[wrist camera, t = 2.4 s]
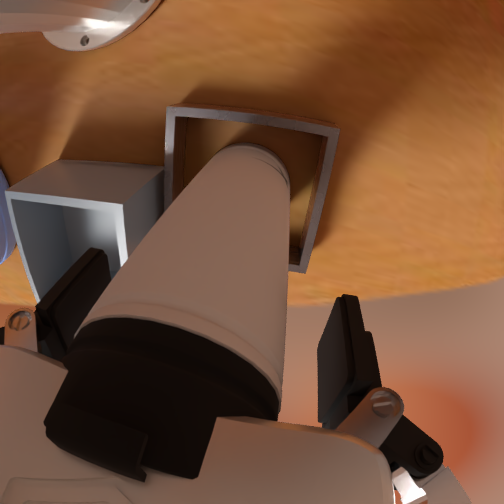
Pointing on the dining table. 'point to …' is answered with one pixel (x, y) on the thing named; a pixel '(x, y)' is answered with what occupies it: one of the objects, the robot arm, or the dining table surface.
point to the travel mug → (185, 326)
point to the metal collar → (330, 131)
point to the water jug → (5, 223)
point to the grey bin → (82, 215)
